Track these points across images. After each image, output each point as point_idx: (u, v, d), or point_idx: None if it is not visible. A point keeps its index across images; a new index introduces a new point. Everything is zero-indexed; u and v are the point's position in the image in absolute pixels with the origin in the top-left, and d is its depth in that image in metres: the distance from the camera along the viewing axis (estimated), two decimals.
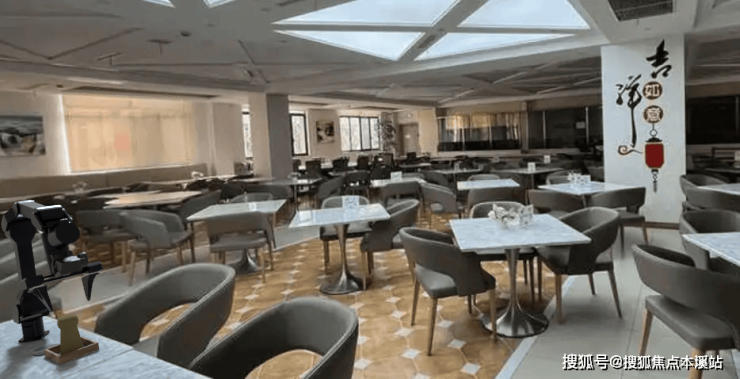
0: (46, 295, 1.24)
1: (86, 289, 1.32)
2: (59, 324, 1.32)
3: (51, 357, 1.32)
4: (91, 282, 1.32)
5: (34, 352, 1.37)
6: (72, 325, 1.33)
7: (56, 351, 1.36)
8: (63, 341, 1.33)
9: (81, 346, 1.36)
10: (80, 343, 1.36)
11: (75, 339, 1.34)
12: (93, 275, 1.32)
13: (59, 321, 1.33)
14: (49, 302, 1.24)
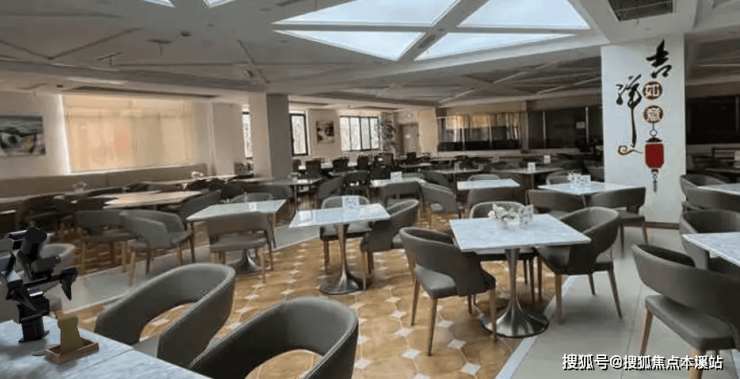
0: (28, 295, 1.35)
1: (66, 291, 1.43)
2: (59, 324, 1.32)
3: (51, 357, 1.32)
4: (69, 283, 1.44)
5: (34, 352, 1.37)
6: (72, 325, 1.33)
7: (56, 351, 1.36)
8: (63, 341, 1.33)
9: (81, 346, 1.36)
10: (80, 343, 1.36)
11: (75, 339, 1.34)
12: (70, 276, 1.45)
13: (59, 321, 1.33)
14: (32, 301, 1.35)
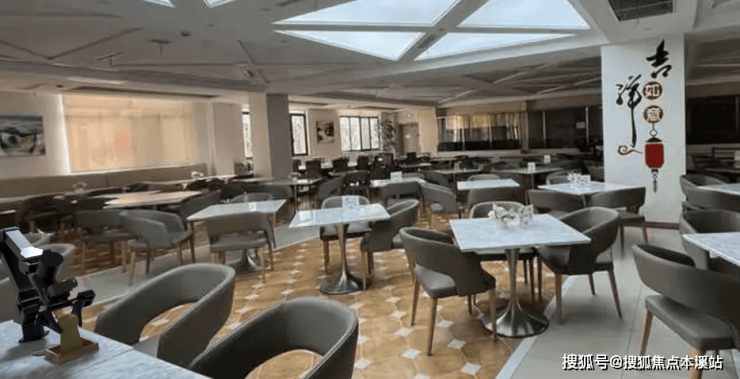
0: (52, 319, 1.32)
1: None
2: (59, 324, 1.32)
3: (51, 357, 1.32)
4: (79, 309, 1.38)
5: (34, 352, 1.37)
6: (72, 325, 1.34)
7: (56, 351, 1.36)
8: (63, 341, 1.33)
9: (81, 346, 1.36)
10: (80, 343, 1.36)
11: (75, 339, 1.34)
12: (80, 301, 1.39)
13: (59, 321, 1.33)
14: (57, 324, 1.32)
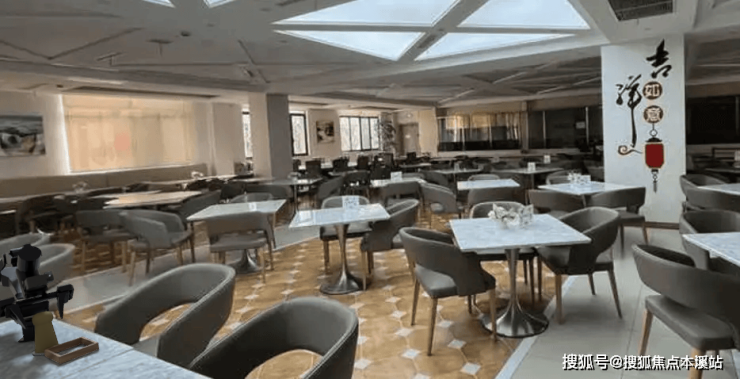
0: (19, 313, 1.35)
1: (59, 309, 1.42)
2: (33, 320, 1.36)
3: (51, 357, 1.32)
4: (62, 301, 1.43)
5: (34, 352, 1.37)
6: (44, 322, 1.37)
7: (56, 351, 1.36)
8: (36, 337, 1.36)
9: (55, 343, 1.39)
10: (54, 340, 1.39)
11: (48, 336, 1.37)
12: (63, 294, 1.43)
13: (33, 317, 1.36)
14: (23, 319, 1.34)
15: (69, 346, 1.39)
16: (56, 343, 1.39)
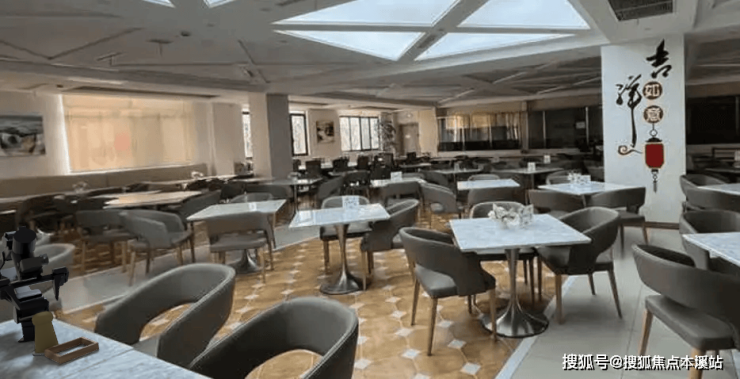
0: (14, 295, 1.36)
1: (54, 291, 1.43)
2: (33, 320, 1.36)
3: (51, 357, 1.32)
4: (58, 283, 1.44)
5: (34, 352, 1.37)
6: (44, 322, 1.37)
7: (56, 351, 1.36)
8: (36, 337, 1.36)
9: (55, 343, 1.39)
10: (54, 340, 1.39)
11: (48, 336, 1.37)
12: (58, 276, 1.45)
13: (33, 317, 1.36)
14: (17, 300, 1.36)
15: (69, 346, 1.39)
16: (56, 343, 1.39)
